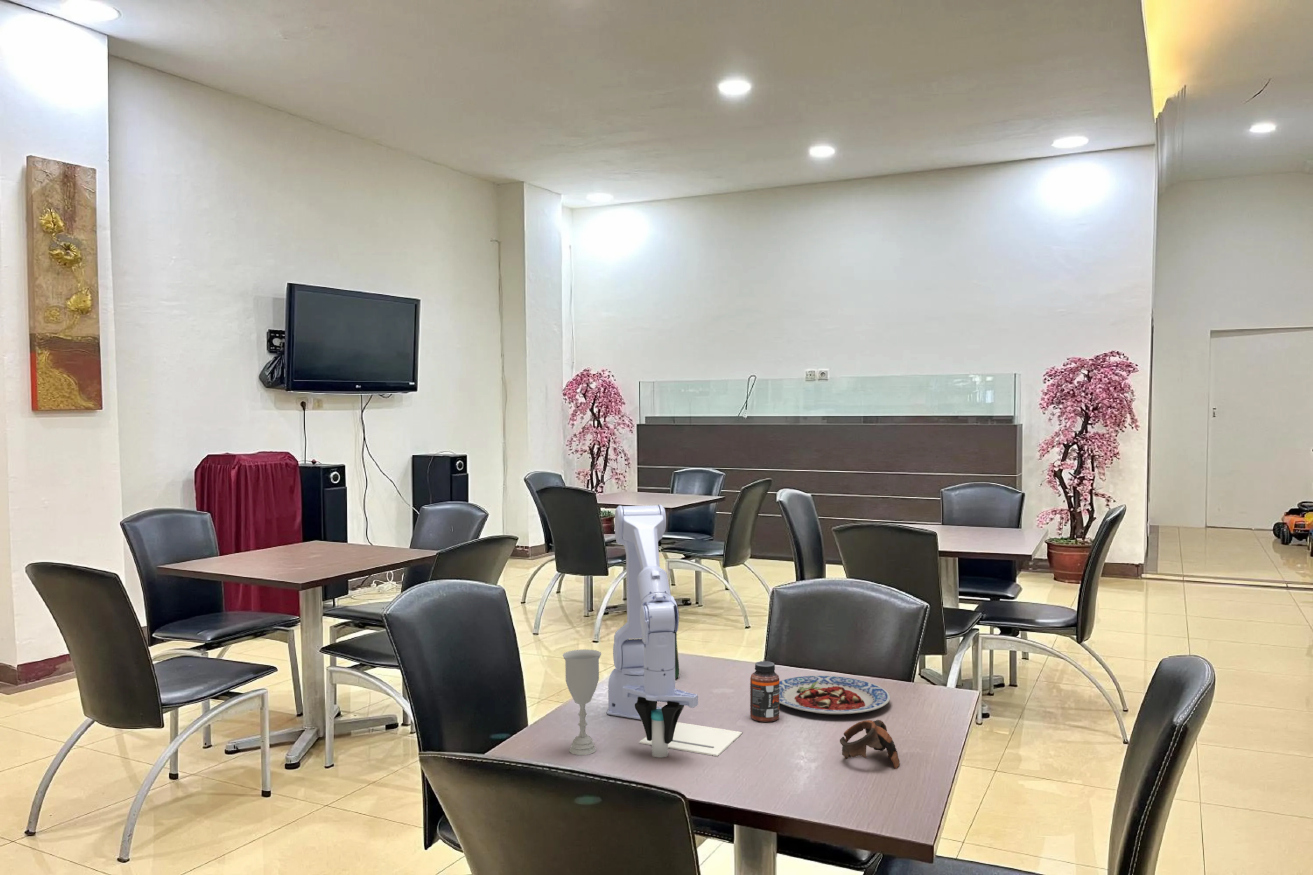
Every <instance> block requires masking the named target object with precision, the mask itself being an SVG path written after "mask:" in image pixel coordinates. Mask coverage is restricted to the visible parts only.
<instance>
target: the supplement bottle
mask: <svg viewBox="0 0 1313 875" xmlns="http://www.w3.org/2000/svg"><path fill="white" fill-rule="evenodd" d="M754 670H755V671H754V672H752V673H751V674H750V679H749V680H750V683H749V685H750V686H749V687H750V688H749V689H750V690H749V694H750V695H749V703H750V704H749V706H750V707H749V713H750V718H751V719H752V720H754V721H758V722H764V723H771V722H775V721H777V720H779V718H780V703H779V681H780V675H779V674H778V673H777V672H775V670H776V666H775V662H772V661H767V660H765V661H763V660H762V661H756V662H755V664H754Z"/></svg>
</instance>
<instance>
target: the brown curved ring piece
mask: <svg viewBox="0 0 1313 875" xmlns="http://www.w3.org/2000/svg"><path fill="white" fill-rule="evenodd" d="M864 730H865V733H866V734H865V735H863V736H862V737H860V738H859V739H856V740H855V741H854V740H853V741H850V740H851V738H853V737H854V736H855V735H857V734H859V733H861V732H863V731H864ZM839 743H840V745H841V746H842V747H841V755H842V756H843V757H844V758H845V759H849V758H851V757H852V758H855V757H858V756H859V757H860V756H861V757H863V758H868V757H867V747H869V748H871V749H873V750H874V751H881V752H883V751H884V750H886V753H887V758H888V759H890V761H891V762H892V763H893V767H894V769H898V767H899V765H900V759H899V754H898V750H897V747H896V745H895V742H894V740H893V738H892V736H891V735H890V733H889V732H888V730H887V726H886V724H885V722H884V721H883V720H881V719H875V720H870V719H868V720H867V719H865V720H861V721H858V722H856V723H854V724H853V725H851V726H850V727H848V728H847V729H846V730H845V731H844V732H843V736H841V738H840V739H839Z"/></svg>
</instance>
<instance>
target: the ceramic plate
mask: <svg viewBox="0 0 1313 875" xmlns="http://www.w3.org/2000/svg"><path fill="white" fill-rule="evenodd" d="M890 700H891V695H890V693H889V692H888V691H887V690H886V689H885V688H884V687H882V686H880V685H878V684H875V683H872V682H870V681H865V680H863V679H857V678H852V677H845V676H838V675H837V676H836V675H802V676H794V677H790V678H789V677H788V678H785V679H782V680H779V704H781V705H783V706H786V707H789V708H792V709H795V710H799V711H802V712H803V711H805V712H808V713H813V714H819V715H829V716H830V715H841V716H842V715H851V714H860V713H866V712H871V711H875V710H878V709H880V708H882V707H885V706H886V705H887V704H888V703H889V702H890Z"/></svg>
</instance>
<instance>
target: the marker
mask: <svg viewBox="0 0 1313 875" xmlns="http://www.w3.org/2000/svg"><path fill="white" fill-rule="evenodd" d="M651 719H652V745H651V756H652V757H654V758H661V759H662V758H666V757H668V756H669V748H668V744H666V743H665V741H664V719H663V714H662V710H661V709H654V710H652V711H651Z"/></svg>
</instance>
